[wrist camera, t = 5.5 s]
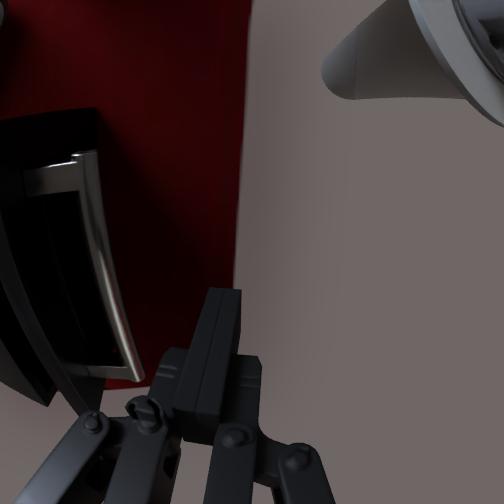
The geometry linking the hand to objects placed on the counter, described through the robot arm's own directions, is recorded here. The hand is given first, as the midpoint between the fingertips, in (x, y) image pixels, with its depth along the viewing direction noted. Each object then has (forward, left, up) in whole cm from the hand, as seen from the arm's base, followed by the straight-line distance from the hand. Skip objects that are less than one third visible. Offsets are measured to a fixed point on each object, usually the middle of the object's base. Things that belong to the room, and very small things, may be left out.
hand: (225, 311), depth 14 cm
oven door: (+11, 0, -10) cm, 15 cm away
